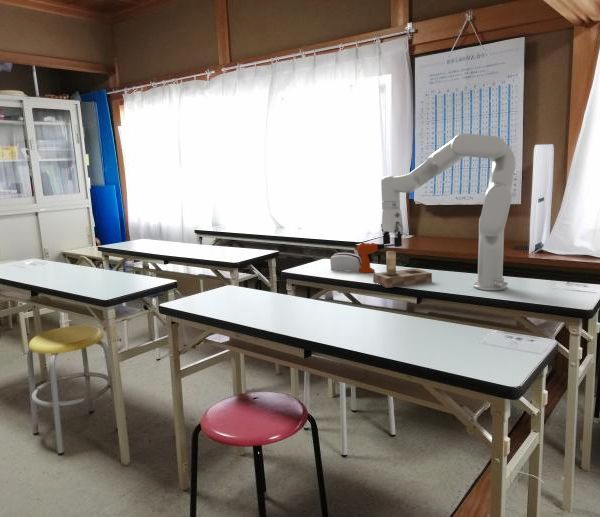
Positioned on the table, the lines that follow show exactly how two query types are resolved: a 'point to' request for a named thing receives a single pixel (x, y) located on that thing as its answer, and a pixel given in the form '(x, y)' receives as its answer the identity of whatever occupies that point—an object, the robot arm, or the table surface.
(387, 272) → the peg
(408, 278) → the board
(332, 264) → the grey toaster
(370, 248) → the toy drill
